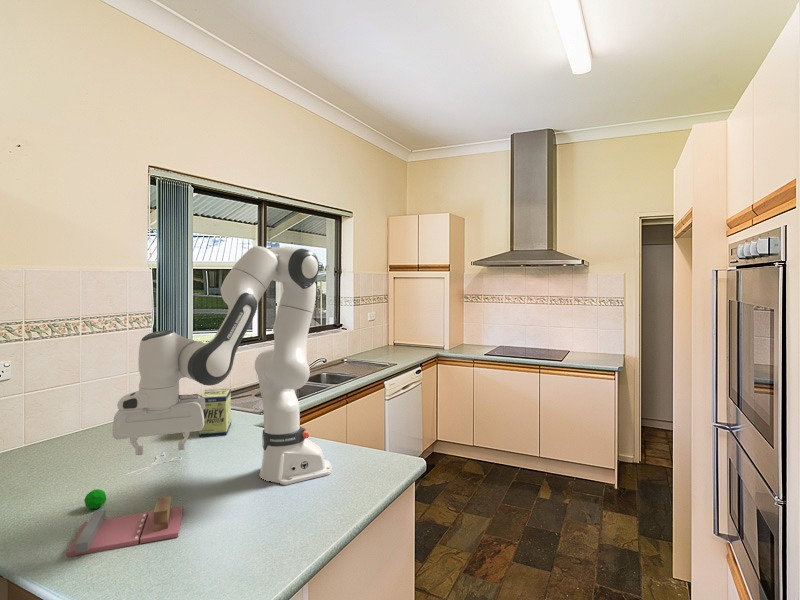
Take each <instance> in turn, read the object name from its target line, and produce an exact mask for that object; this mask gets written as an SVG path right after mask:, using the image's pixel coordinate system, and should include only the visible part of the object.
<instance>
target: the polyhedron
mask: <svg viewBox="0 0 800 600" xmlns="http://www.w3.org/2000/svg"><path fill="white" fill-rule="evenodd" d="M106 502H107V494H106V492H105V491H104V490H103V489H99V488H97V489H93V490H91V491H90V492H88V493H87V494H86V495H85V497H84V505H85V508H87V509H89V510H98V509H99V508H100V507H102V506H103V505H104V504H105V503H106Z"/></svg>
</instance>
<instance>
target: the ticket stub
mask: <svg viewBox="0 0 800 600" xmlns="http://www.w3.org/2000/svg"><path fill="white" fill-rule="evenodd" d="M183 514H184V506H183V505H182V506H175V507H172V496H171V495H169V496H168V495H167V496H162V497H158V498H157V500H156V503H155V507H154V510H150V511H149V512H148V517H147V520H146V523H145V526H144V529H143V532H142V535H141V538H140V541H139V544H145V543H151V542H155V541H162V540H167V539H169V540H170V539H172V538H179V534H180V528H181V524H182V523H181V522H182V518H183Z"/></svg>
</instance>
